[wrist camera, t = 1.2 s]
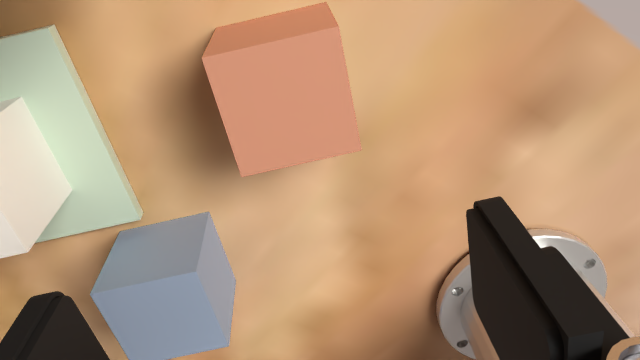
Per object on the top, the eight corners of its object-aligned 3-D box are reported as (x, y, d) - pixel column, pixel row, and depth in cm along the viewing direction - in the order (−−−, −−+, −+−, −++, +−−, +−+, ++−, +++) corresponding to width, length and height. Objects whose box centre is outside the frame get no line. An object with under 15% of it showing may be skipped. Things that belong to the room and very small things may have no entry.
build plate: (143, 212, 31) (140, 219, 30) (-35, 252, 32) (-42, 260, 31) (54, 24, 25) (48, 27, 25) (-165, 76, 26) (-177, 81, 25)
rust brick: (346, 106, 29) (361, 150, 24) (247, 128, 29) (241, 177, 24) (326, 1, 26) (338, 26, 21) (216, 27, 26) (201, 57, 21)
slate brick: (235, 279, 35) (229, 346, 29) (154, 297, 35) (133, 366, 30) (209, 210, 32) (195, 271, 26) (120, 230, 32) (89, 294, 27)
